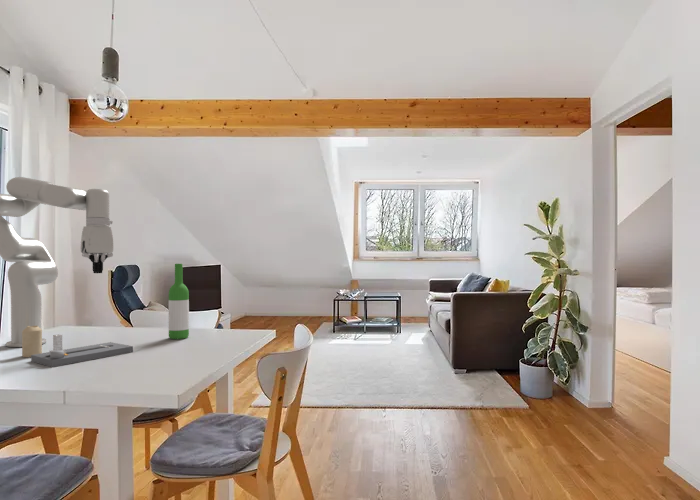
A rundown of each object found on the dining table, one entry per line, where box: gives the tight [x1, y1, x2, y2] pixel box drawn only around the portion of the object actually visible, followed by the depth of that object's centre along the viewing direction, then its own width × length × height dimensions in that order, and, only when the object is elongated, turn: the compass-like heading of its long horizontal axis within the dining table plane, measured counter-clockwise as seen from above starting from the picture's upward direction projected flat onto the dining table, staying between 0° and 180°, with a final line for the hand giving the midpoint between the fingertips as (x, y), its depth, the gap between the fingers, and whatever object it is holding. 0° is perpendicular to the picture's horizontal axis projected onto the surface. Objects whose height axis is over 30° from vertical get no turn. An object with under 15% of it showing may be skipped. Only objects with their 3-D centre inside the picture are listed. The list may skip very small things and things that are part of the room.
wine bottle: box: [168, 263, 190, 340], centre depth 193 cm, size 8×8×30 cm
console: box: [30, 341, 134, 368], centre depth 159 cm, size 14×26×4 cm, turn 146°
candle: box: [21, 326, 43, 358], centre depth 160 cm, size 6×6×10 cm
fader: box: [48, 333, 66, 354], centre depth 152 cm, size 4×3×6 cm
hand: (97, 273), depth 175 cm, fingers closed
